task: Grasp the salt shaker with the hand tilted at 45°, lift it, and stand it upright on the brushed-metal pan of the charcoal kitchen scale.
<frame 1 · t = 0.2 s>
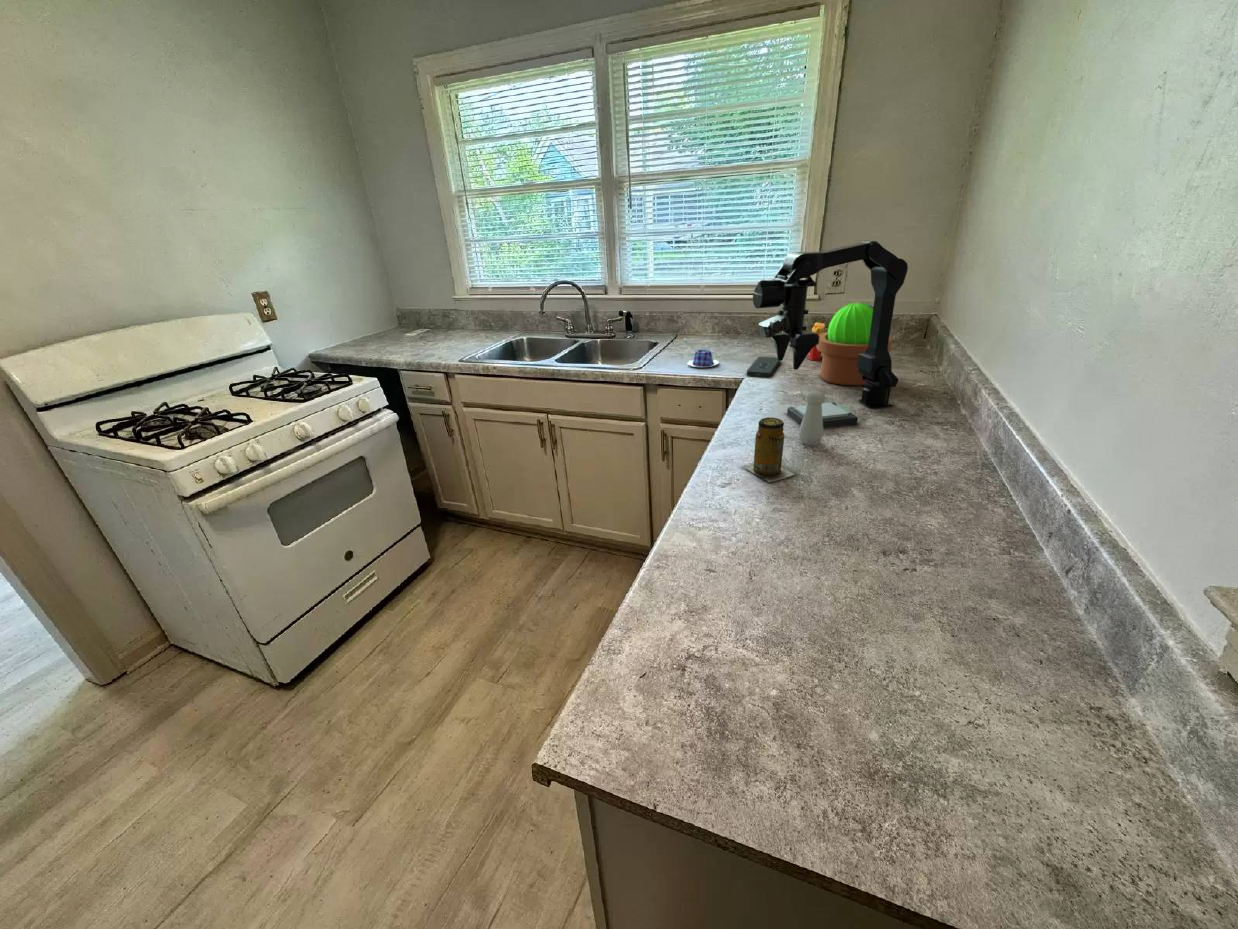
hand: (787, 364, 134), 15 cm above the worktop, tool pointing down, fingers open, 9 cm apart
salt shaker: (809, 442, 124), on the worktop
smart home device: (763, 369, 181), on the worktop
potted cactus: (847, 378, 166), on the worktop
condiment: (769, 472, 111), on the worktop
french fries: (814, 358, 189), on the worktop
pudding: (703, 364, 191), on the worktop
kitchen scale: (820, 418, 136), on the worktop
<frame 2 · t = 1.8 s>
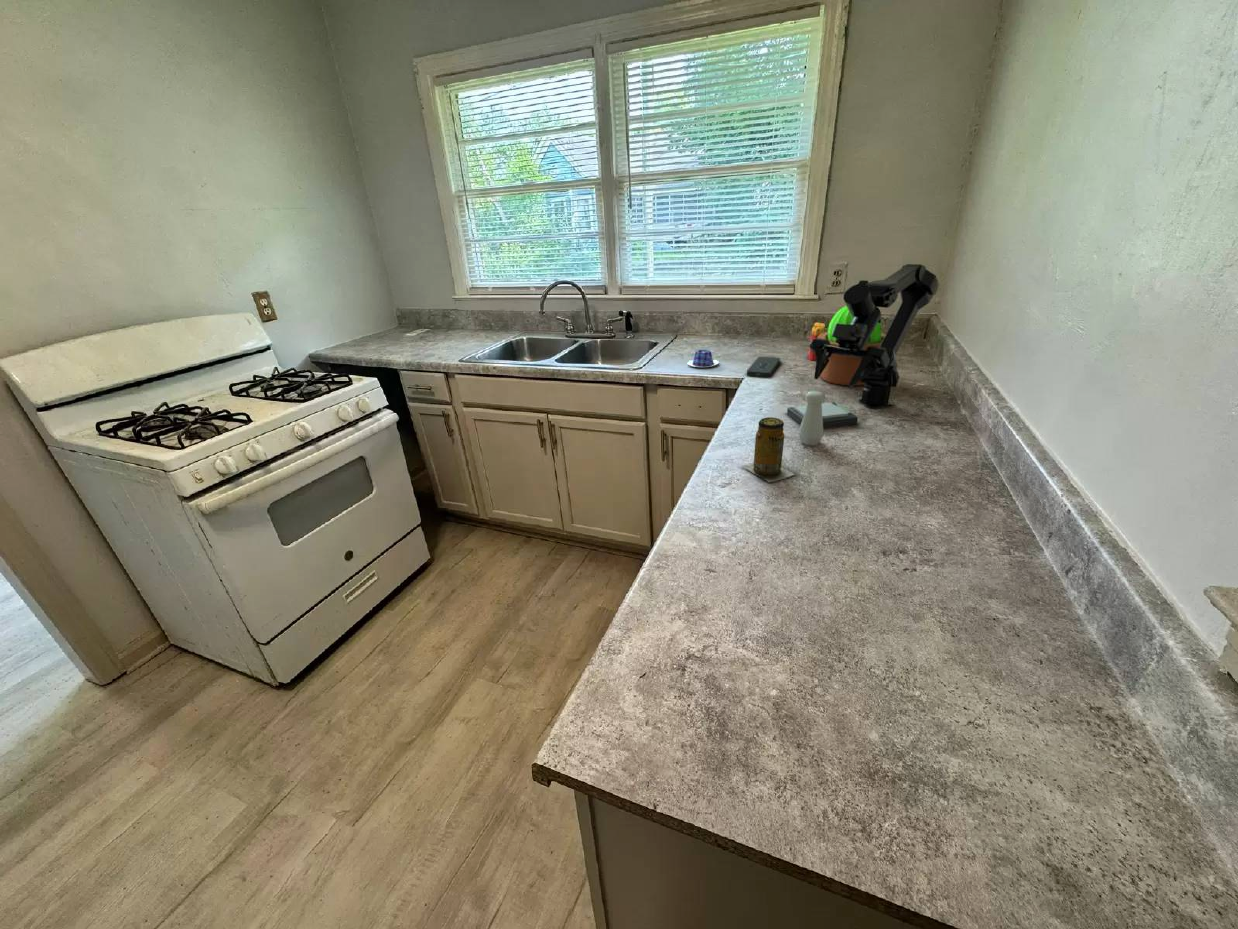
hand: (832, 382, 123), 13 cm above the worktop, tool tilted 45°, fingers open, 9 cm apart
nothing on the worktop moved.
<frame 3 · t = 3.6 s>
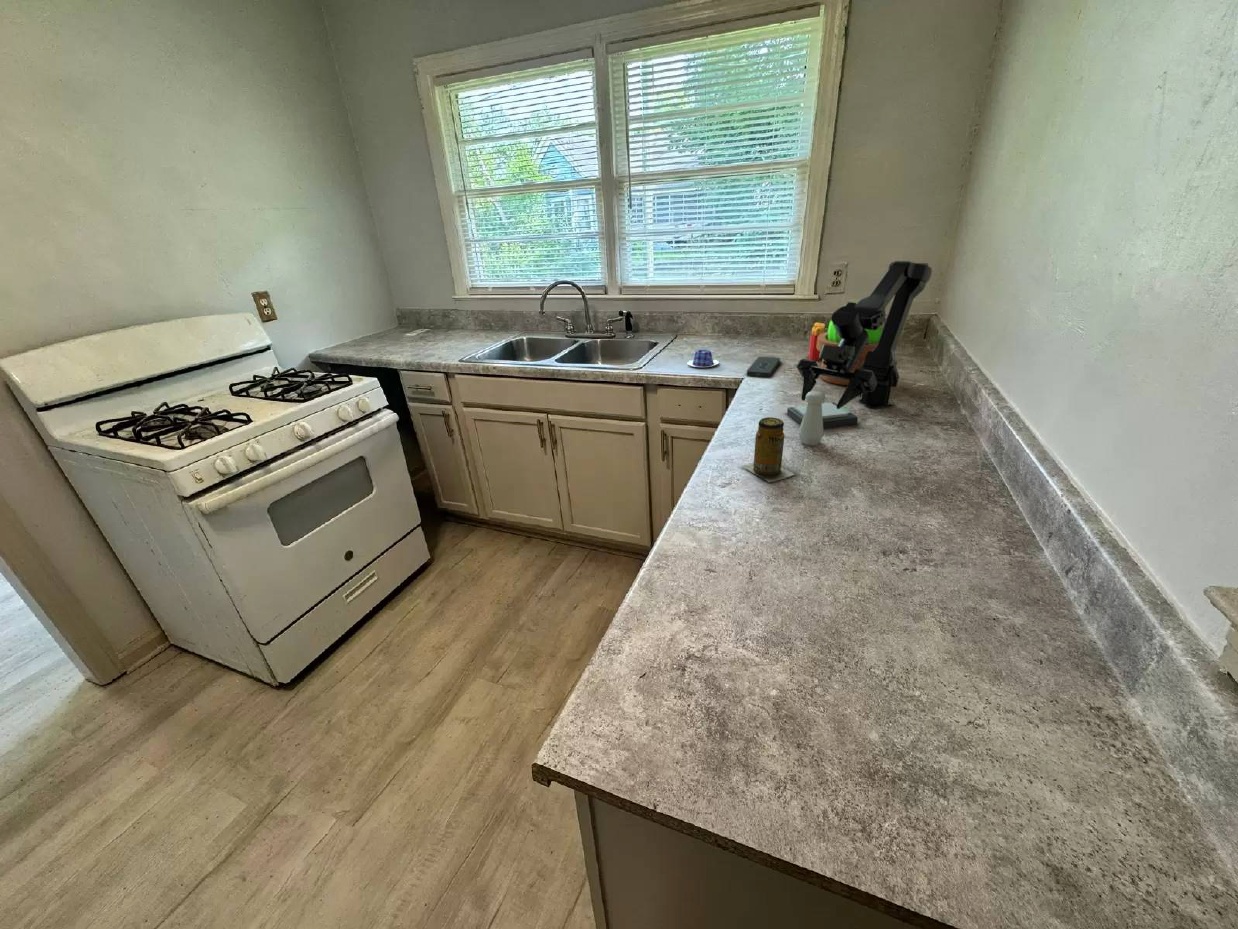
hand: (819, 403, 121), 9 cm above the worktop, tool tilted 45°, fingers open, 9 cm apart
nothing on the worktop moved.
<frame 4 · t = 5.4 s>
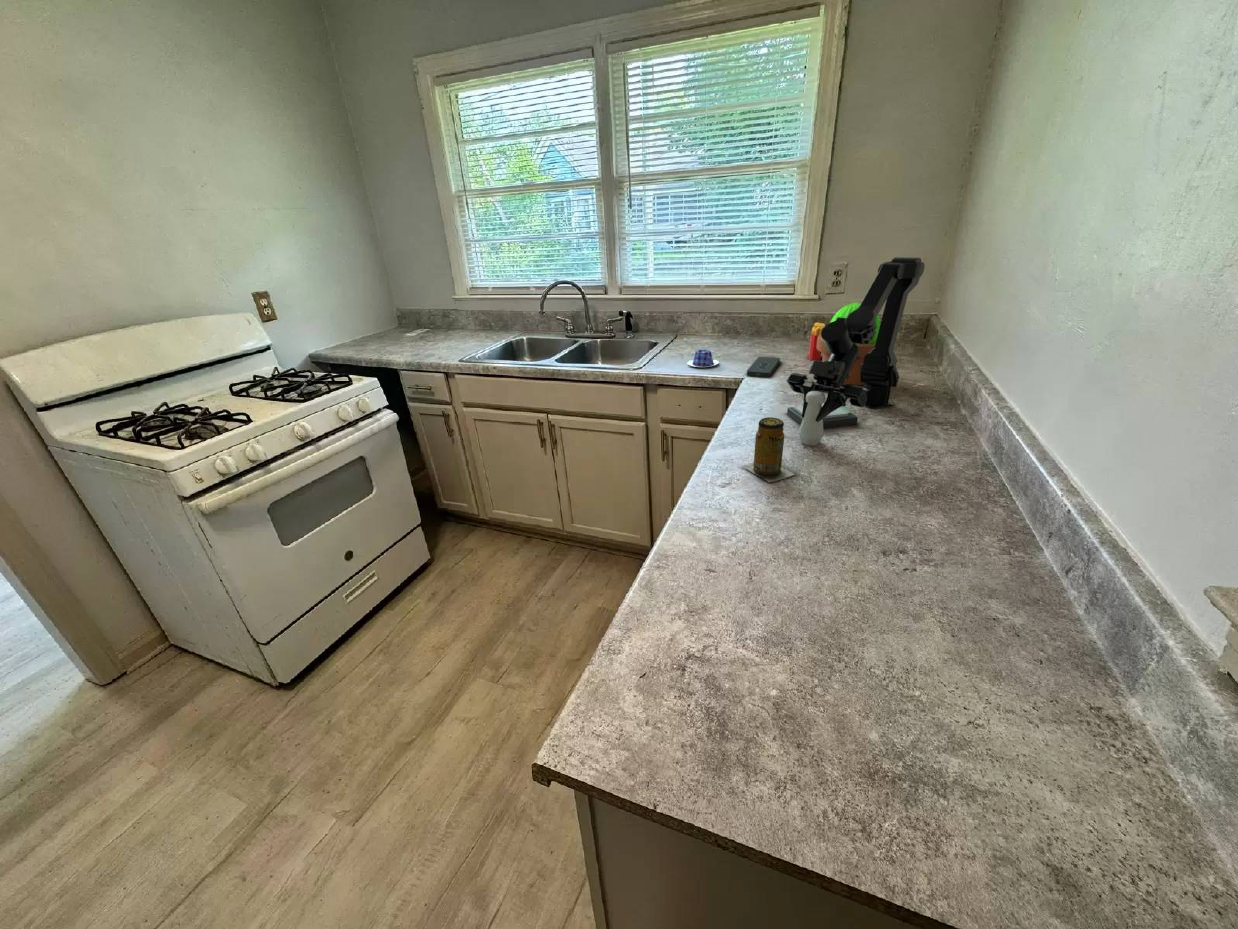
hand: (809, 419, 120), 7 cm above the worktop, tool tilted 45°, fingers closed on salt shaker, 3 cm apart
salt shaker: (809, 442, 124), on the worktop, touching gripper
everything else where it was.
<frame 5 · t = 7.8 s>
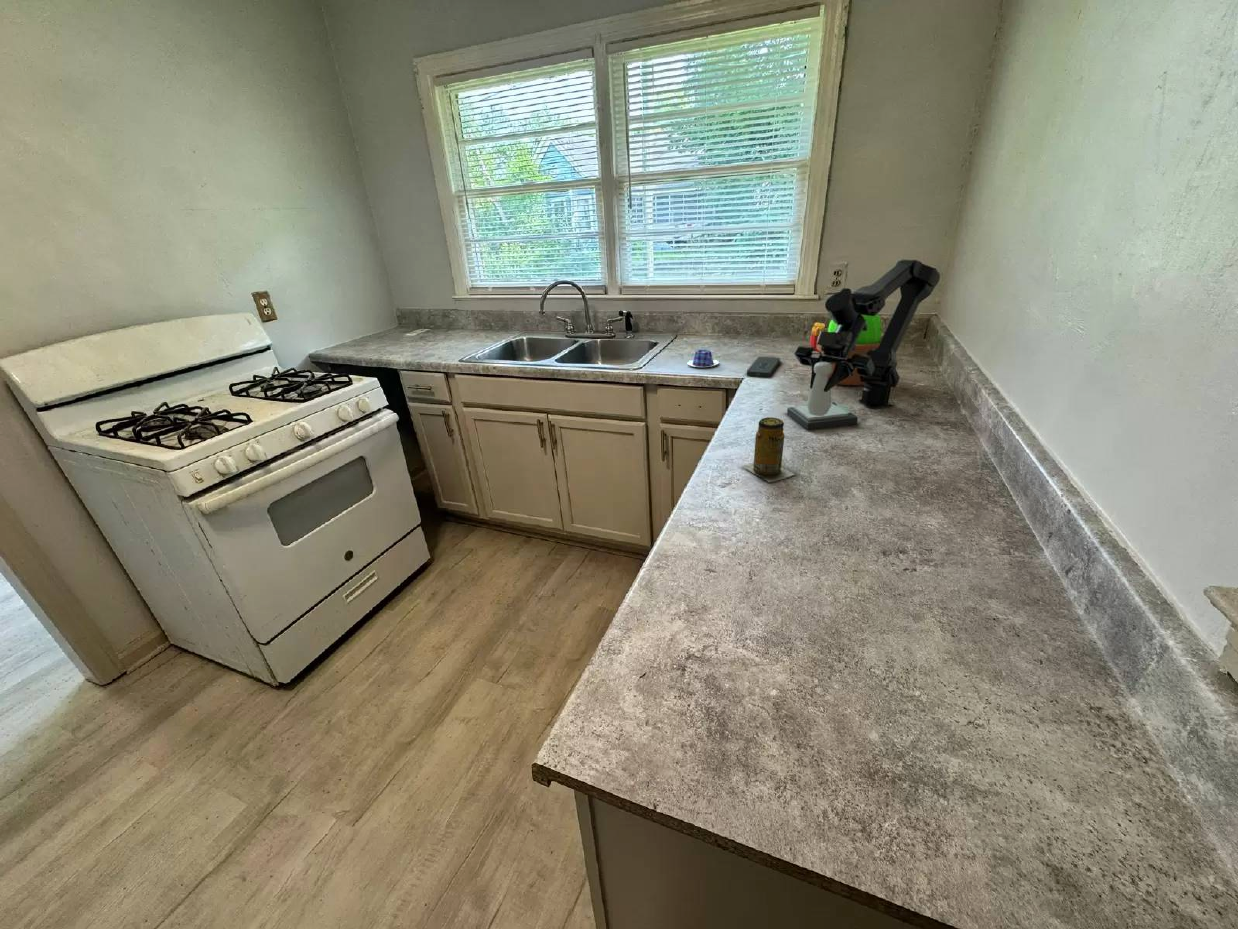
hand: (817, 389, 122), 12 cm above the worktop, tool tilted 45°, fingers closed on salt shaker, 3 cm apart
salt shaker: (817, 413, 126), point 5 cm above the worktop, touching gripper
everything else where it was.
when the fingers open (9 cm above the worktop, at t = 10.4 s): salt shaker stays where it is, resting on kitchen scale.
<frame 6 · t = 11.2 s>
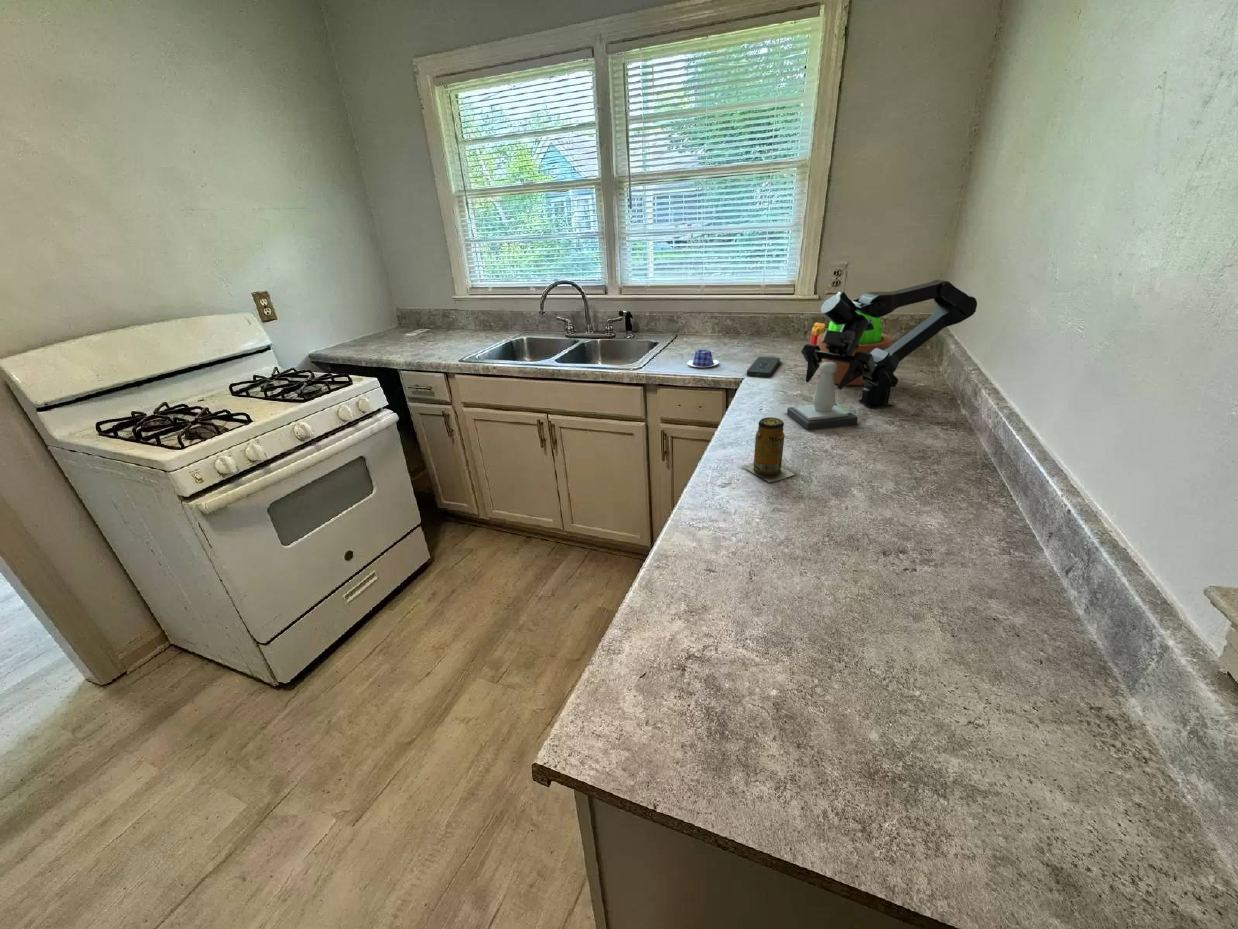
hand: (822, 385, 131), 10 cm above the worktop, tool tilted 45°, fingers open, 9 cm apart
salt shaker: (822, 410, 135), point 3 cm above the worktop, touching kitchen scale
everything else where it was.
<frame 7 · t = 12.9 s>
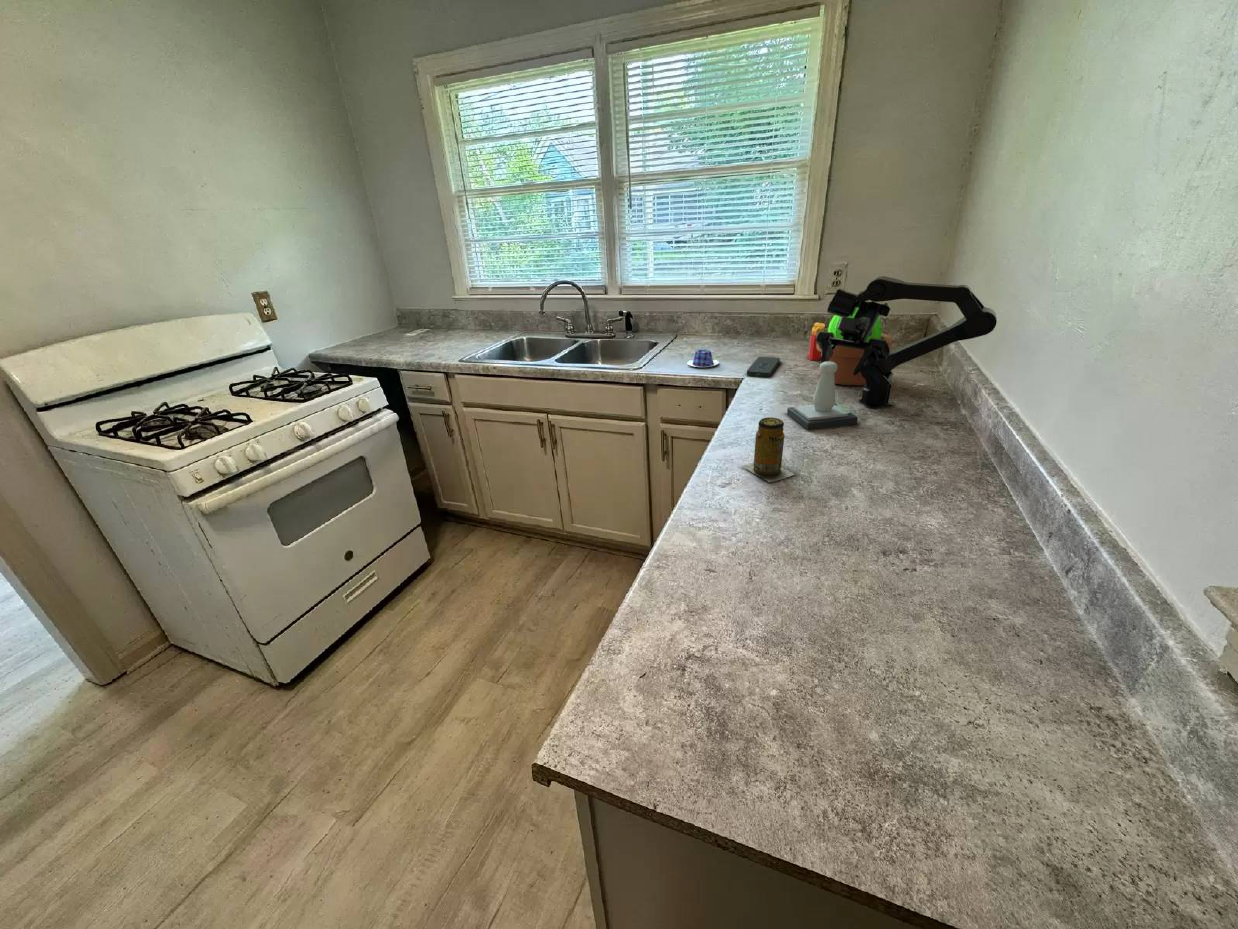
hand: (837, 371, 134), 12 cm above the worktop, tool tilted 45°, fingers open, 9 cm apart
nothing on the worktop moved.
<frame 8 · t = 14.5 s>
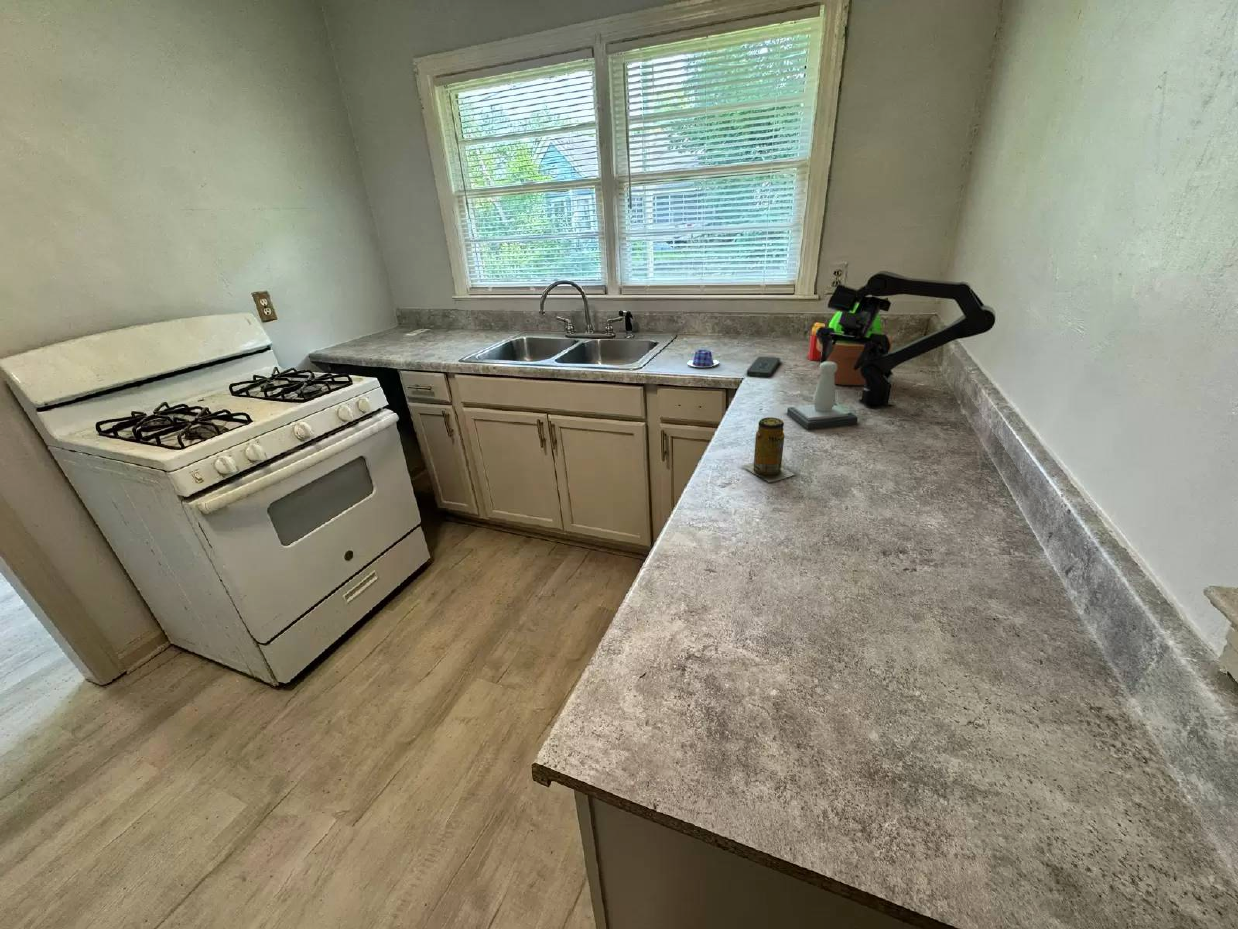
hand: (837, 366, 133), 14 cm above the worktop, tool tilted 45°, fingers open, 9 cm apart
nothing on the worktop moved.
at the end: salt shaker inside the target area on the kitchen scale (0.7 cm from its centre), point 2.6 cm above the kitchen scale's base; salt shaker tilted 0°; the gripper is holding nothing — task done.
